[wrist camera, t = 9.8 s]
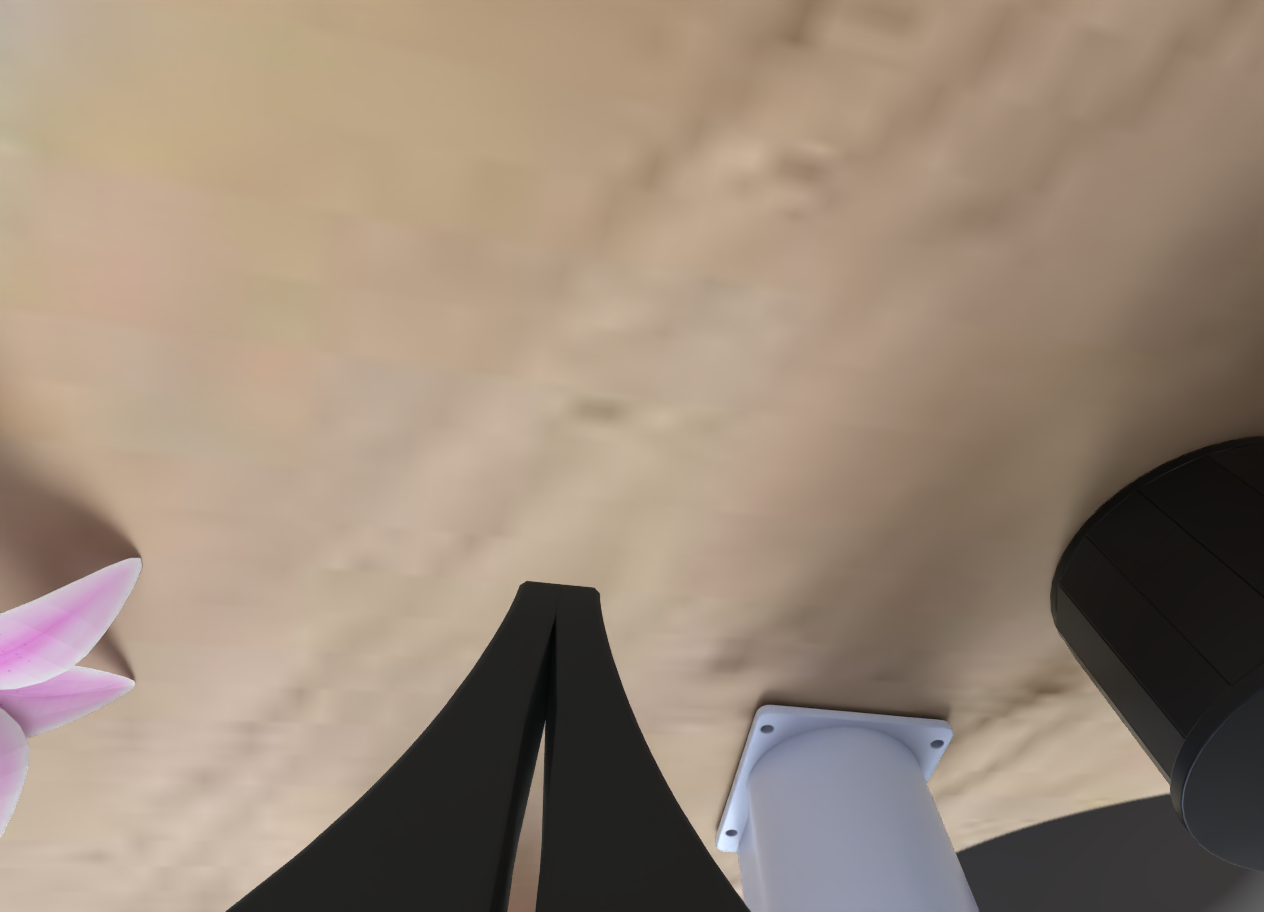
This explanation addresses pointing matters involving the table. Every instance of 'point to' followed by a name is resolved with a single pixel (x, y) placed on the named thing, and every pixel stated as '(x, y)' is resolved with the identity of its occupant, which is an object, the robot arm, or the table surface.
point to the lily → (55, 666)
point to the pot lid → (1226, 775)
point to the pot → (1170, 592)
